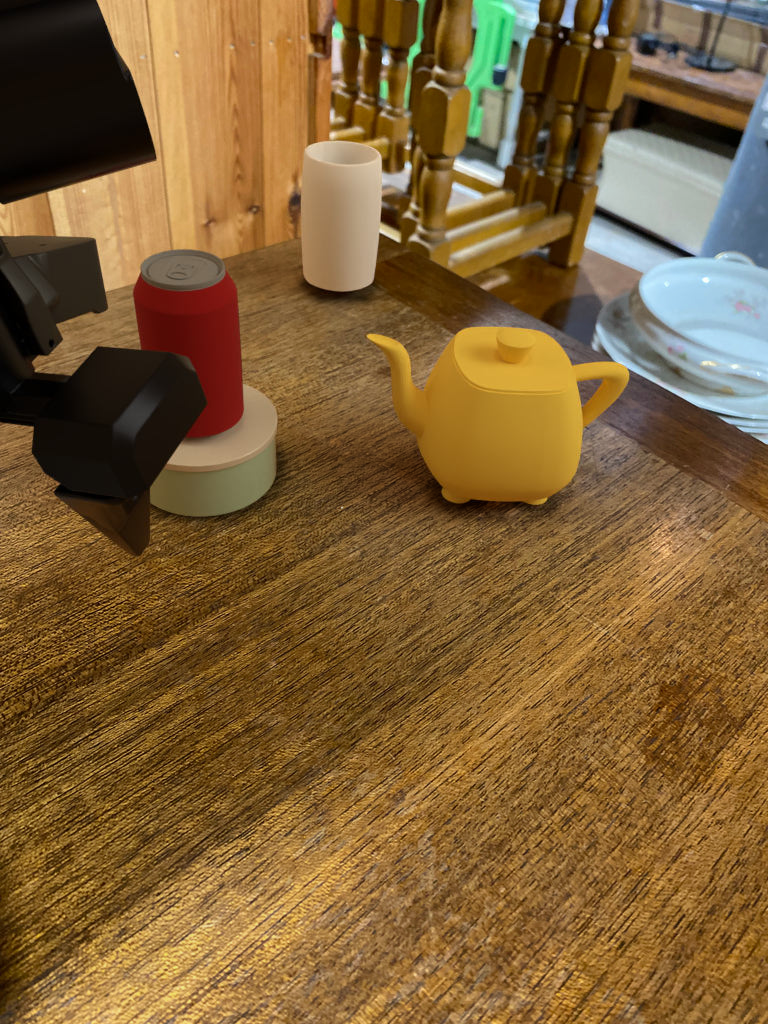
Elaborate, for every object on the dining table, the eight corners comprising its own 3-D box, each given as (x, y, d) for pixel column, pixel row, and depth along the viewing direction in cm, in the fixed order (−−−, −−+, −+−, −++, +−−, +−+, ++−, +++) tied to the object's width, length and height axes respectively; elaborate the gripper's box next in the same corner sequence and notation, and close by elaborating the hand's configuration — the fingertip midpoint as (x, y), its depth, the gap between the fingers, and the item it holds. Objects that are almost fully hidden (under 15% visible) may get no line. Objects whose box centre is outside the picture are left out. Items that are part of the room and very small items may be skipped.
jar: (104, 500, 58) (92, 447, 55) (170, 417, 67) (163, 366, 63) (249, 532, 57) (245, 479, 54) (297, 443, 65) (297, 392, 62)
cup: (329, 310, 83) (333, 172, 74) (285, 279, 88) (283, 146, 78) (391, 291, 87) (402, 159, 78) (346, 263, 92) (351, 135, 82)
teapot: (357, 418, 68) (364, 286, 60) (579, 425, 70) (616, 297, 62) (360, 522, 58) (370, 380, 50) (619, 527, 60) (670, 391, 52)
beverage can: (255, 401, 61) (248, 252, 53) (229, 452, 56) (217, 296, 48) (171, 388, 61) (152, 239, 53) (138, 438, 56) (111, 281, 48)
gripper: (208, 139, 29) (295, 446, 41) (-160, 143, 35) (6, 412, 46) (40, 302, 22) (201, 618, 34) (-389, 275, 28) (-126, 555, 39)
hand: (61, 535), depth 38 cm, fingers open, 9 cm apart
